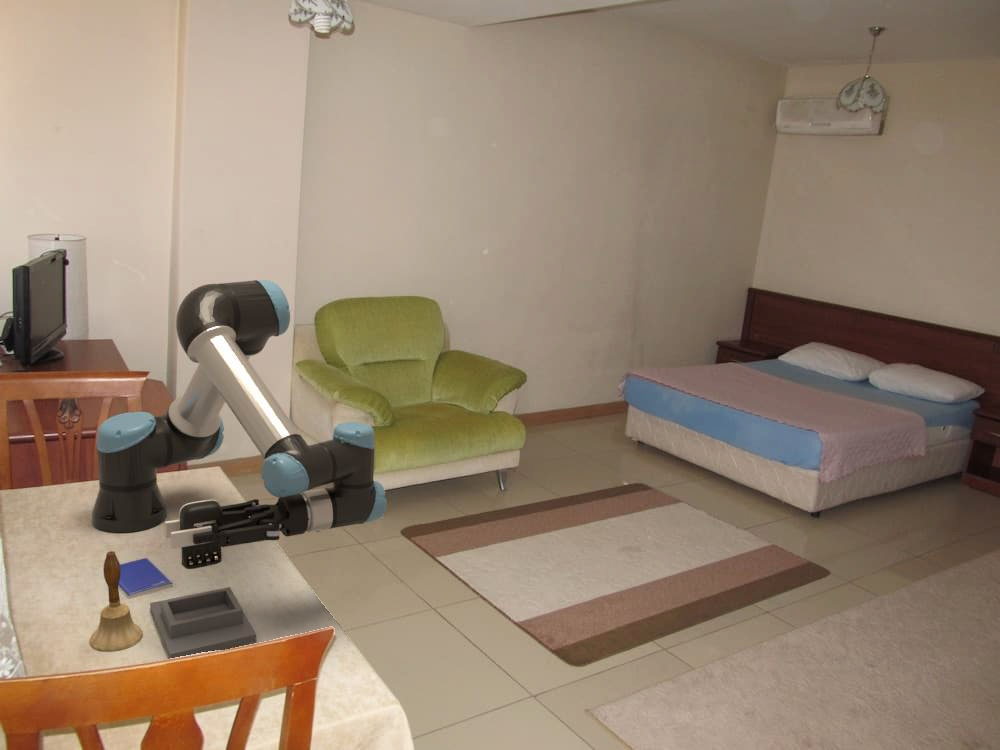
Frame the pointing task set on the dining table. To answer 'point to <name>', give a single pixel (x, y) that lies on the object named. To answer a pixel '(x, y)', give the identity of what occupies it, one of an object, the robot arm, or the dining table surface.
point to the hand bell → (115, 615)
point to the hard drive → (141, 578)
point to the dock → (202, 623)
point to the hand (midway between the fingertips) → (168, 535)
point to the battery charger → (199, 517)
